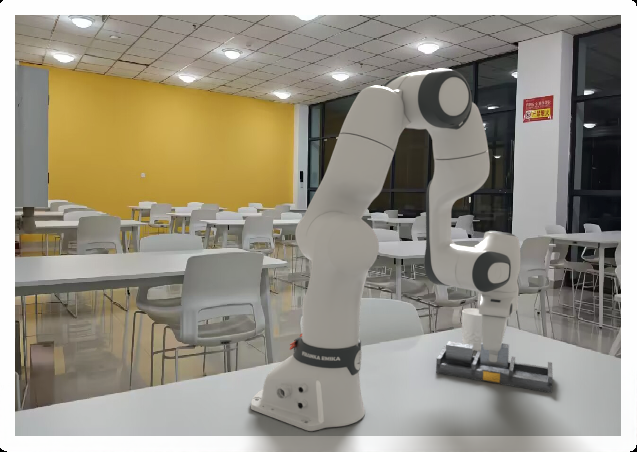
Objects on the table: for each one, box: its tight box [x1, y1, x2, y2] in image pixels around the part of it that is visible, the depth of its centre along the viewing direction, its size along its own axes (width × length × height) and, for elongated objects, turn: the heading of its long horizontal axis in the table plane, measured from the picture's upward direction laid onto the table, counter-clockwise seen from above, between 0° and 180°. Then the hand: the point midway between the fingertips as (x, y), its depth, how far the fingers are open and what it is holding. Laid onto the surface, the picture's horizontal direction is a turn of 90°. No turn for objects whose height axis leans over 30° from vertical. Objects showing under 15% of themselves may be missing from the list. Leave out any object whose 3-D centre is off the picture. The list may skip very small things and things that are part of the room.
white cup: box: [461, 307, 482, 352], centre depth 140 cm, size 8×8×10 cm
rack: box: [435, 340, 554, 393], centre depth 120 cm, size 25×10×6 cm, turn 66°
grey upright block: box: [480, 342, 510, 369], centre depth 120 cm, size 6×3×5 cm, turn 66°
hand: (494, 358), depth 120 cm, fingers closed on grey upright block, 3 cm apart
